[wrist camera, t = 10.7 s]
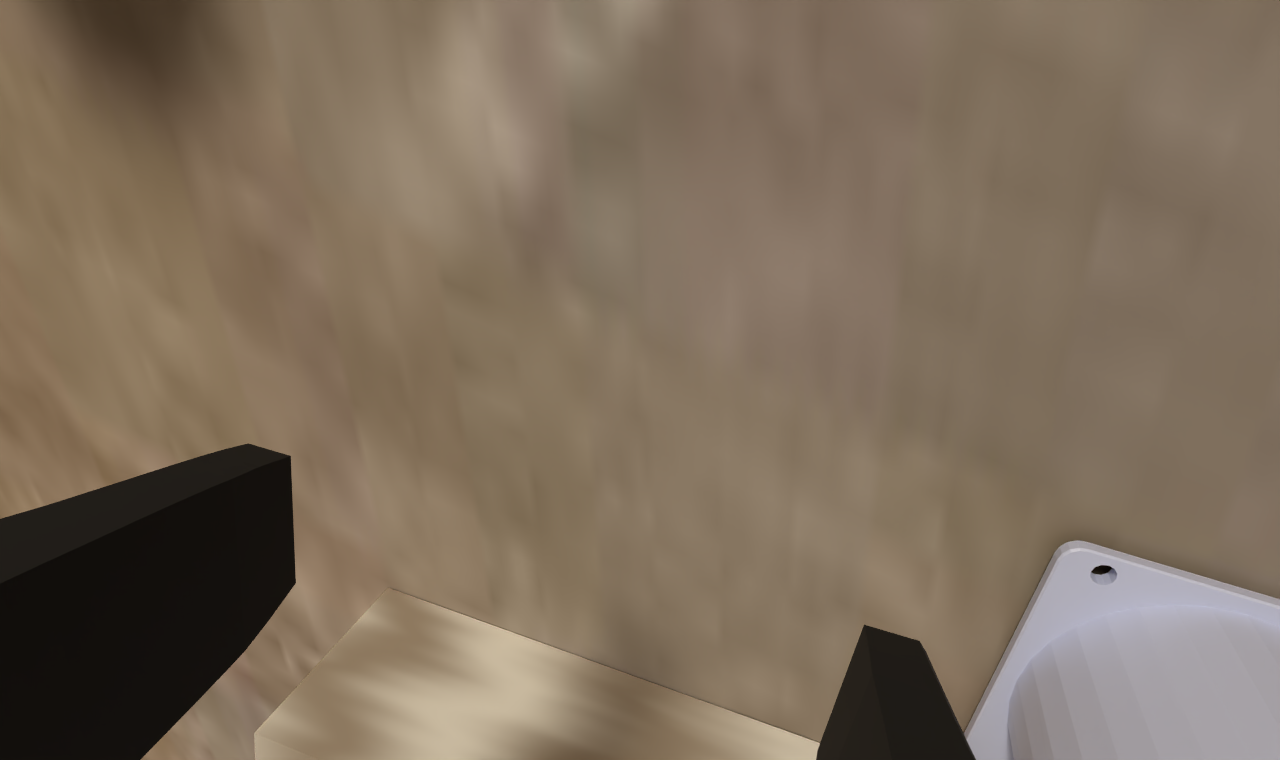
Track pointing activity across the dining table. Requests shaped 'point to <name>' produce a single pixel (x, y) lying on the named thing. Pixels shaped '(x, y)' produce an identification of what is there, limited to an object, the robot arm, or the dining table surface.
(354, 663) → the wall board
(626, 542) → the dining table surface
